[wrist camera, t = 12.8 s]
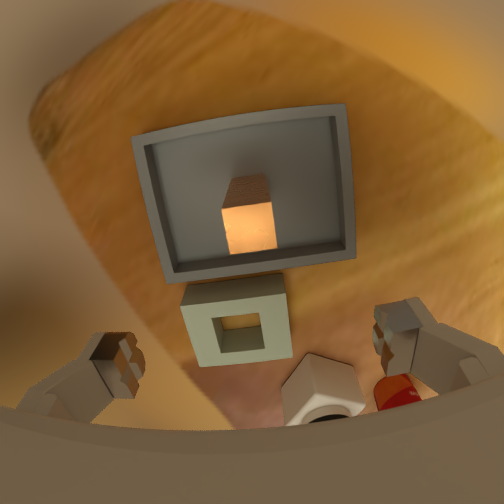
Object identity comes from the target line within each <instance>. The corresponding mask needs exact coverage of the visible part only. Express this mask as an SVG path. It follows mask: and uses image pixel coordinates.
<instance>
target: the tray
mask: <svg viewBox="0 0 504 504" xmlns="http://www.w3.org/2000/svg"><path fill="white" fill-rule="evenodd" d="M131 142H132V147H133V152H134V157H135V161H136V166H137V171H138V175H139V180H140V184H141V188H142V193H143V197H144V201H145V205H146V209H147V213H148V217H149V221H150V225H151V229H152V233H153V237H154V240H155V244H156V248H157V251H158V255H159V259H160V262H161V266H162V269H163V273H164V276H165V279H166V283H167V284H171V283H180V282H188V281H196V280H204V279H211V278H219V277H227V276H234V275H242V274H250V273H257V272H264V271H272V270H279V269H286V268H293V267H300V266H307V265H314V264H321V263H328V262H335V261H342V260H348V259H355V258H356V224H355V202H354V186H353V172H352V159H351V148H350V138H349V129H348V120H347V112H346V104H345V103H342V104H326V105H313V106H302V107H292V108H283V109H275V110H267V111H259V112H252V113H245V114H239V115H232V116H226V117H221V118H215V119H210V120H204V121H199V122H194V123H189V124H184V125H180V126H175V127H170V128H166V129H162V130H158V131H153V132H149V133H145V134H141V135H137V136H134V137H131ZM263 173H265V176H266V181H267V185H268V190H269V194H270V198H271V203H272V211H273V218H274V226H275V233H276V241H277V248H275V249H268V250H260V251H253V252H246V253H239V254H231V255H230V252H229V247H228V242H227V237H226V231H225V226H224V221H223V216H222V210H221V209H222V206H223V202H224V199H225V196H226V193H227V190H228V187H229V184H230V181H231V178H236V177H243V176H249V175H256V174H263Z"/></svg>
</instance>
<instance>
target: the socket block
mask: <svg viewBox="0 0 504 504" xmlns="http://www.w3.org/2000/svg"><path fill="white" fill-rule="evenodd" d="M180 308H181V311H182V314H183V318H184V321H185V324H186V327H187V330H188V333H189V336H190V340H191V343H192V346H193V349H194V352H195V354H196V357H197V360H198V363H199V366H200V367H206V366H219V365H230V364H241V363H250V362H260V361H268V360H276V359H284V358H291V357H293V355H292V345H291V336H290V327H289V318H288V309H287V300H286V292H285V286H284V281H283V275H282V273H280V274H273V275H265V276H258V277H250V278H243V279H235V280H227V281H220V282H212V283H204V284H196V285H188V286H187V287H186V290H185V293H184V296H183V299H182V302H181V305H180ZM258 312H259V316H260V321H261V326H258V327H250V328H241V329H232V330H223V326H222V322H221V318H220V317H224V316H233V315H242V314H250V313H258Z"/></svg>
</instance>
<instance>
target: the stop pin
mask: <svg viewBox="0 0 504 504" xmlns="http://www.w3.org/2000/svg"><path fill="white" fill-rule="evenodd" d="M221 210H222V216H223V221H224V226H225V231H226V237H227V242H228V247H229V252H230V255H231V254H239V253H246V252H253V251H260V250H268V249H275V248H277V241H276V233H275V226H274V218H273V211H272V203H271V198H270V194H269V190H268V185H267V181H266V176H265V173H263V174H256V175H249V176H243V177H236V178H231V181H230V184H229V187H228V190H227V193H226V196H225V199H224V202H223V206H222V209H221Z"/></svg>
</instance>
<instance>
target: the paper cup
mask: <svg viewBox="0 0 504 504" xmlns="http://www.w3.org/2000/svg"><path fill="white" fill-rule="evenodd" d="M374 397H375V401H376V405H377V408H378V411H382V410H386V409H391V408H395V407H399V406H403V405H407V404H411V403H414V402H418V401H421V400H422V399H421V398H420V396H419V394H418V393H417V391H416V389H415V387H414V386H413V384H412V383H411V381H410V379H409V378H408V377H407V375H405V374H399V375H394V376H389V377H384V378H383V379H382V380H380V381H379V382H378V383H377V384H376V386H375V388H374Z"/></svg>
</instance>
